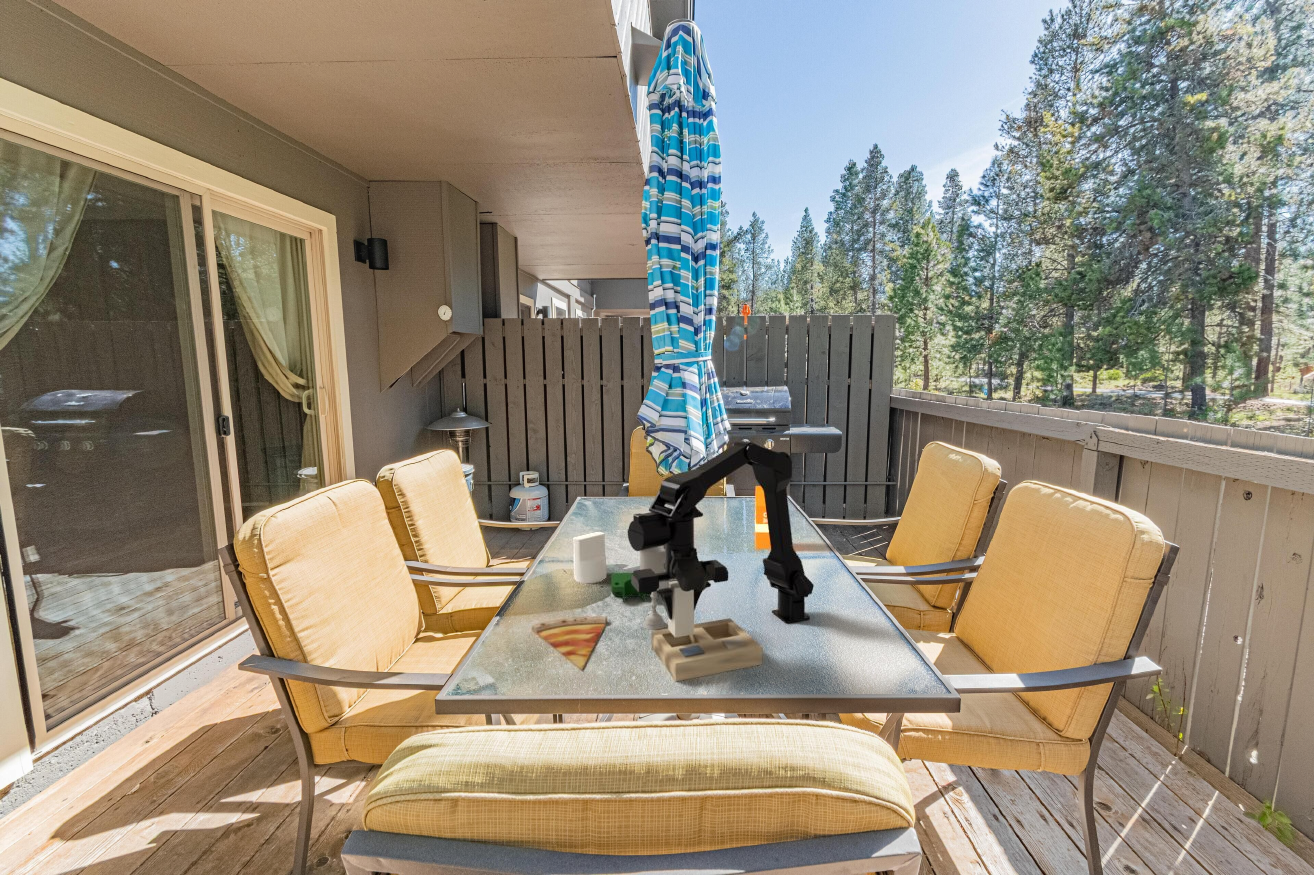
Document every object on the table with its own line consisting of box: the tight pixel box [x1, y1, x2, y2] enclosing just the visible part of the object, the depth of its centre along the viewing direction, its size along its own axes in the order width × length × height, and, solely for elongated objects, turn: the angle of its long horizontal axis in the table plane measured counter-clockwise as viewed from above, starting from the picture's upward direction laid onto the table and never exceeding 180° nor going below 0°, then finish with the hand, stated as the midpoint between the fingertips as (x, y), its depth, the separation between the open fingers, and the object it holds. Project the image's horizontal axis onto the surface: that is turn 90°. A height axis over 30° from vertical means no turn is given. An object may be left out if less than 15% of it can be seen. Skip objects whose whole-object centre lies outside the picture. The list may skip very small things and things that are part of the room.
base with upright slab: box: [572, 531, 607, 584], centre depth 160 cm, size 9×9×12 cm
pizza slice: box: [531, 616, 608, 672], centre depth 122 cm, size 16×22×2 cm
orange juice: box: [754, 485, 771, 550], centre depth 184 cm, size 8×9×20 cm
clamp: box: [610, 572, 652, 603], centre depth 145 cm, size 12×6×9 cm, turn 87°
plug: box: [667, 581, 695, 638], centre depth 115 cm, size 4×4×10 cm
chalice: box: [639, 546, 666, 631], centre depth 129 cm, size 7×7×18 cm
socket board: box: [650, 617, 763, 682], centre depth 115 cm, size 14×18×4 cm
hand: (680, 617), depth 115 cm, fingers closed on plug, 4 cm apart
